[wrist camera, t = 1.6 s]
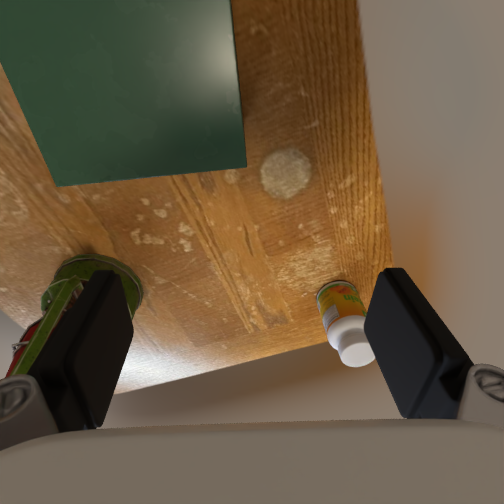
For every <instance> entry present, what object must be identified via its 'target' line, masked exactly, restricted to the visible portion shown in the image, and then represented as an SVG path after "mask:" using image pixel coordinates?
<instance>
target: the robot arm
mask: <svg viewBox="0 0 504 504" xmlns="http://www.w3.org/2000/svg"><path fill="white" fill-rule="evenodd" d="M133 333H134V329H133V324H132V320H131V316H130V312H129V308H128V304H127V300H126V296H125V292H124V288H123V284H122V280H121V277H120V275H119V274H115V272H114V270H95V271H94V272H93V274H92V276H91V277H90V279H89V280H88V282H87V284H86V285H85V287H84V289H83V290H82V292H81V293H80V295H79V297H78V298H77V300H76V302H75V303H74V305H73V306H72V308H69V309H67V311H66V312H65V313H64V315H63V316H62V318H61V319H60V321H59V323H58V324H57V326H56V327H55V329H54V331H53V332H52V334H51V335H50V337H49V339H48V340H47V342H46V343H45V345H44V346H43V348H42V350H41V351H40V353H39V354H38V356H37V358H36V359H35V361H34V362H33V364H32V366H31V367H30V369H29V370H28V372H27V373H26V374H17V375H12V376H8V377H6V378H4V379H1V380H0V504H504V370H503V369H501V368H498V367H496V366H493V365H489V364H476V365H474V364H473V362H472V361H471V360H470V358H469V356H468V355H467V353H466V352H465V351H464V349H463V348H462V347H461V345H460V344H459V343H458V341H457V340H456V339H455V337H454V336H453V335H452V333H451V332H450V331H449V329H448V328H447V326H446V325H445V324H444V322H443V321H442V320H441V318H440V317H439V316H438V314H437V313H436V312H435V310H434V309H433V308H432V306H431V305H430V304H429V302H428V301H427V299H426V298H425V297H424V295H423V294H422V293H421V291H420V290H419V289H418V288H417V286H416V285H415V283H414V282H413V281H412V279H411V278H410V277H409V275H408V274H407V273H406V271H405V270H404V269H403V268H385V269H384V271H383V272H380V273H379V275H378V278H377V281H376V285H375V288H374V291H373V295H372V298H371V301H370V305H369V308H368V312H367V315H366V318H365V322H364V333H365V335H366V338H367V340H368V342H369V344H370V347H371V349H372V351H373V353H374V356H375V358H376V360H377V362H378V365H379V367H380V369H381V371H382V373H383V376H384V378H385V380H386V383H387V385H388V387H389V389H390V392H391V394H392V396H393V398H394V401H395V403H396V405H397V407H398V410H399V412H400V414H401V415H402V417H404V418H407V419H374V420H373V419H370V420H335V421H334V420H331V421H297V422H295V421H294V422H264V423H263V422H262V423H234V424H233V423H232V424H231V423H230V424H201V425H176V426H148V427H147V426H146V427H128V428H109V429H96V428H97V427H101V426H102V424H103V422H104V419H105V416H106V413H107V411H108V408H109V405H110V402H111V399H112V396H113V393H114V390H115V387H116V385H117V382H118V379H119V376H120V373H121V370H122V367H123V364H124V361H125V359H126V356H127V353H128V350H129V347H130V344H131V341H132V338H133Z"/></svg>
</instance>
